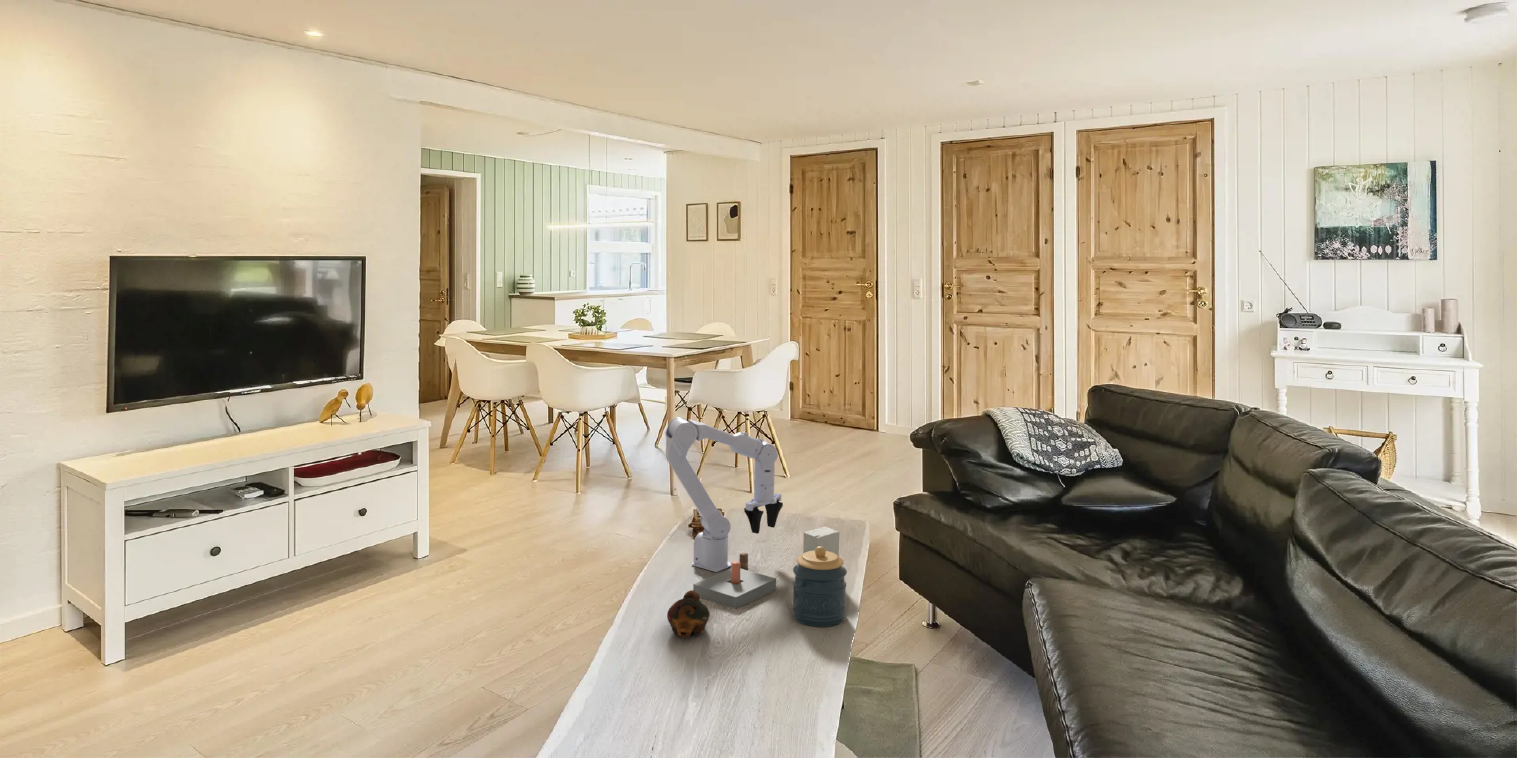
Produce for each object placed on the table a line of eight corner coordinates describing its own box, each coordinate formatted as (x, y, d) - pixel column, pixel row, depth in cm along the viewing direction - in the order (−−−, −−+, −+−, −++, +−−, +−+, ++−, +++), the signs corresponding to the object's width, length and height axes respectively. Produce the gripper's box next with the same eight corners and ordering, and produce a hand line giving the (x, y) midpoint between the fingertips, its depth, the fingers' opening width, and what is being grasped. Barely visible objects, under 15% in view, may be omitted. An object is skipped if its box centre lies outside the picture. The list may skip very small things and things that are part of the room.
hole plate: (693, 595, 218) (693, 584, 217) (734, 577, 231) (734, 566, 231) (735, 609, 209) (735, 597, 209) (776, 589, 223) (776, 578, 222)
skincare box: (823, 578, 232) (825, 525, 230) (839, 584, 227) (840, 530, 225) (801, 584, 226) (802, 530, 225) (816, 591, 222) (817, 536, 220)
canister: (812, 602, 214) (814, 535, 212) (855, 616, 206) (858, 545, 204) (781, 618, 204) (782, 547, 202) (825, 632, 196) (827, 559, 194)
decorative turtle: (709, 618, 203) (711, 587, 202) (707, 650, 188) (709, 616, 187) (668, 616, 203) (670, 585, 201) (663, 647, 188) (665, 614, 187)
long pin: (728, 592, 220) (729, 563, 219) (734, 590, 222) (735, 560, 221) (736, 595, 218) (736, 565, 217) (741, 592, 220) (742, 562, 219)
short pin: (737, 569, 237) (737, 554, 237) (742, 567, 239) (743, 552, 238) (744, 571, 236) (744, 556, 235) (749, 569, 238) (749, 554, 237)
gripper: (760, 490, 234) (759, 538, 235) (790, 481, 245) (789, 526, 247) (740, 486, 238) (739, 533, 239) (770, 477, 249) (769, 522, 251)
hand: (763, 529), depth 243 cm, fingers open, 7 cm apart
